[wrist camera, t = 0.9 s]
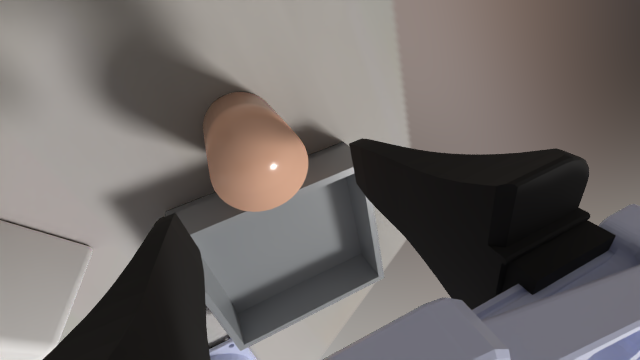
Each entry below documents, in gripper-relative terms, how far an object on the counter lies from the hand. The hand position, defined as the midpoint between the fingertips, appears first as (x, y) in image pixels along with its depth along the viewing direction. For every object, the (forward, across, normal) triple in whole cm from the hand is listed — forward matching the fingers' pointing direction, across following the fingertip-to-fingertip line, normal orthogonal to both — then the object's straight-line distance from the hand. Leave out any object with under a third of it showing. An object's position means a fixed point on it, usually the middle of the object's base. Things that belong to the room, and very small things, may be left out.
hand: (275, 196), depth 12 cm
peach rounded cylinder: (+8, 0, 0) cm, 9 cm away
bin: (+8, 0, +10) cm, 13 cm away
